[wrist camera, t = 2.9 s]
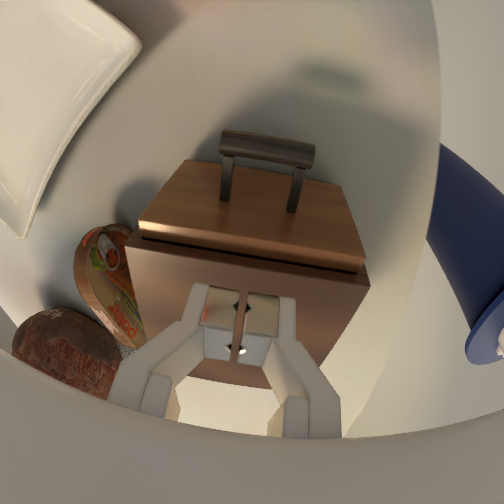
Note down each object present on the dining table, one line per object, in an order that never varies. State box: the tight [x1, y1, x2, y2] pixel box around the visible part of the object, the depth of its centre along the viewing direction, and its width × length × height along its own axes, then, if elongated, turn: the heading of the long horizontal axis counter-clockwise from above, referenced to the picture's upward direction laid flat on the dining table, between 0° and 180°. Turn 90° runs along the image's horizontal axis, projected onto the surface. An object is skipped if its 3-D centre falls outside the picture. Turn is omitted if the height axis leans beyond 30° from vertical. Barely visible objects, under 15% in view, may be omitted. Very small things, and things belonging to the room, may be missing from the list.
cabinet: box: [124, 225, 371, 390], centre depth 23 cm, size 15×14×11 cm
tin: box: [73, 224, 147, 349], centre depth 27 cm, size 15×3×8 cm, turn 11°
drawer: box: [138, 129, 366, 273], centre depth 21 cm, size 18×12×9 cm
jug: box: [11, 307, 123, 400], centre depth 33 cm, size 22×21×25 cm
